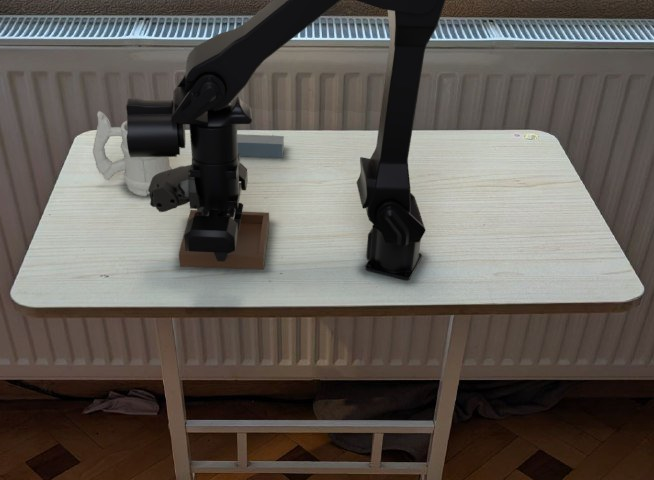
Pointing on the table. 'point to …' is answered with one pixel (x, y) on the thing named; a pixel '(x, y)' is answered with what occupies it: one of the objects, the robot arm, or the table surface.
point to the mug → (125, 159)
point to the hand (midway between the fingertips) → (221, 260)
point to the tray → (247, 246)
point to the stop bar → (260, 146)
